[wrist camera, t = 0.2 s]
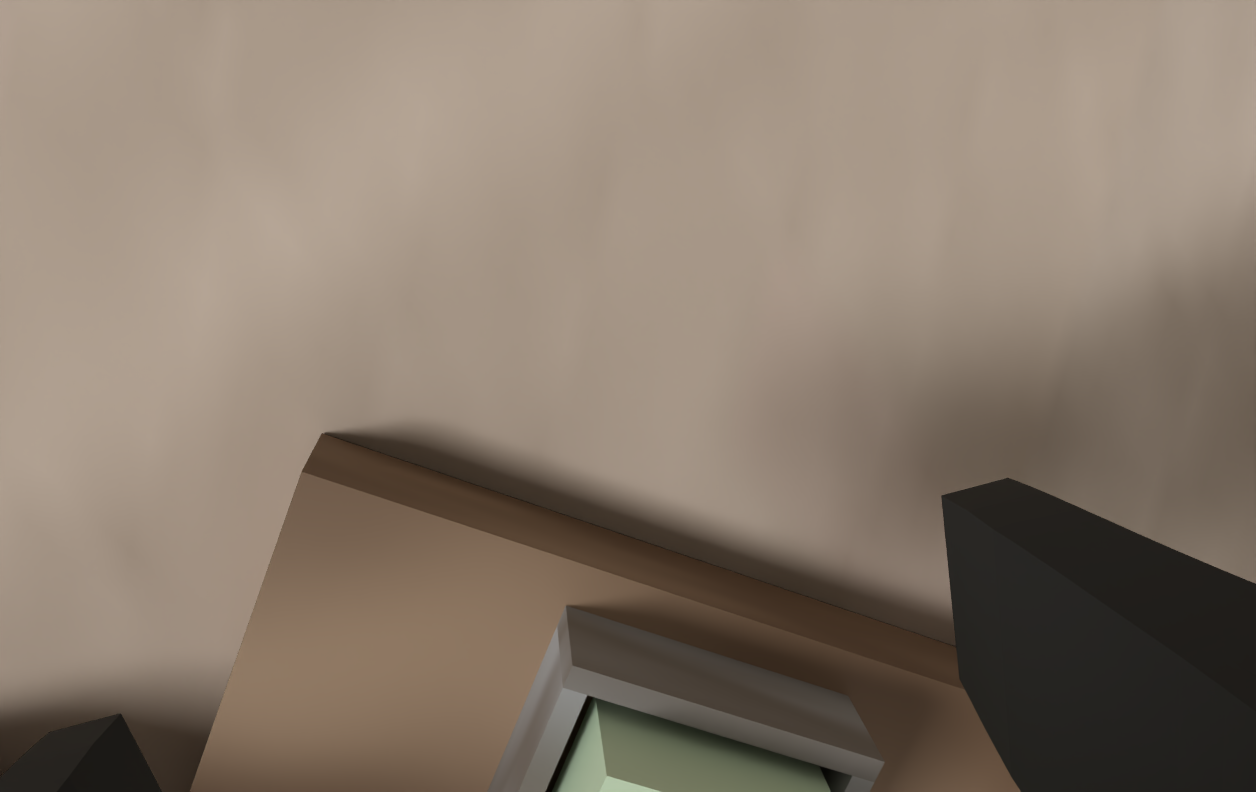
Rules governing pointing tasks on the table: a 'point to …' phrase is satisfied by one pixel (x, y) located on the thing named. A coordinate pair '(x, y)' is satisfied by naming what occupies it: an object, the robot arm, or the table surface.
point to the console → (549, 652)
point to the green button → (673, 758)
